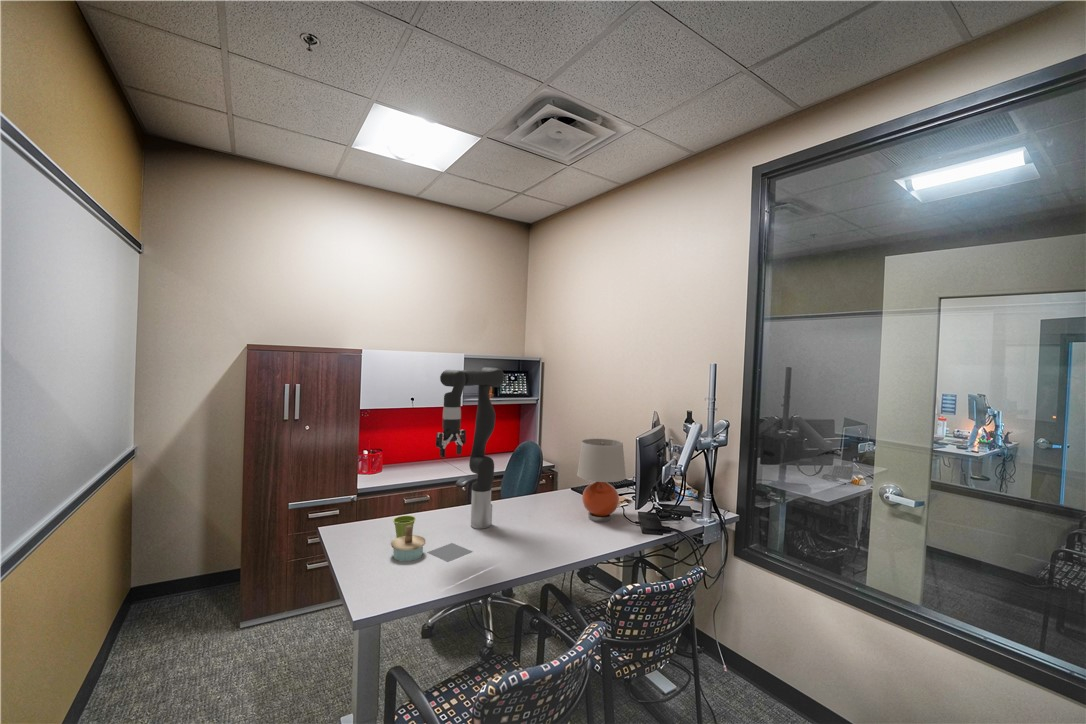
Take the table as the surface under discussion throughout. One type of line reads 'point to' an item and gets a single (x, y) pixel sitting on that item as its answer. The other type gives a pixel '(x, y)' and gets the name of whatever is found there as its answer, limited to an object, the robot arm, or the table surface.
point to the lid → (408, 540)
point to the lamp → (601, 476)
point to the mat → (449, 552)
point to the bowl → (407, 554)
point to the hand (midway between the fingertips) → (450, 455)
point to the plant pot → (402, 524)
